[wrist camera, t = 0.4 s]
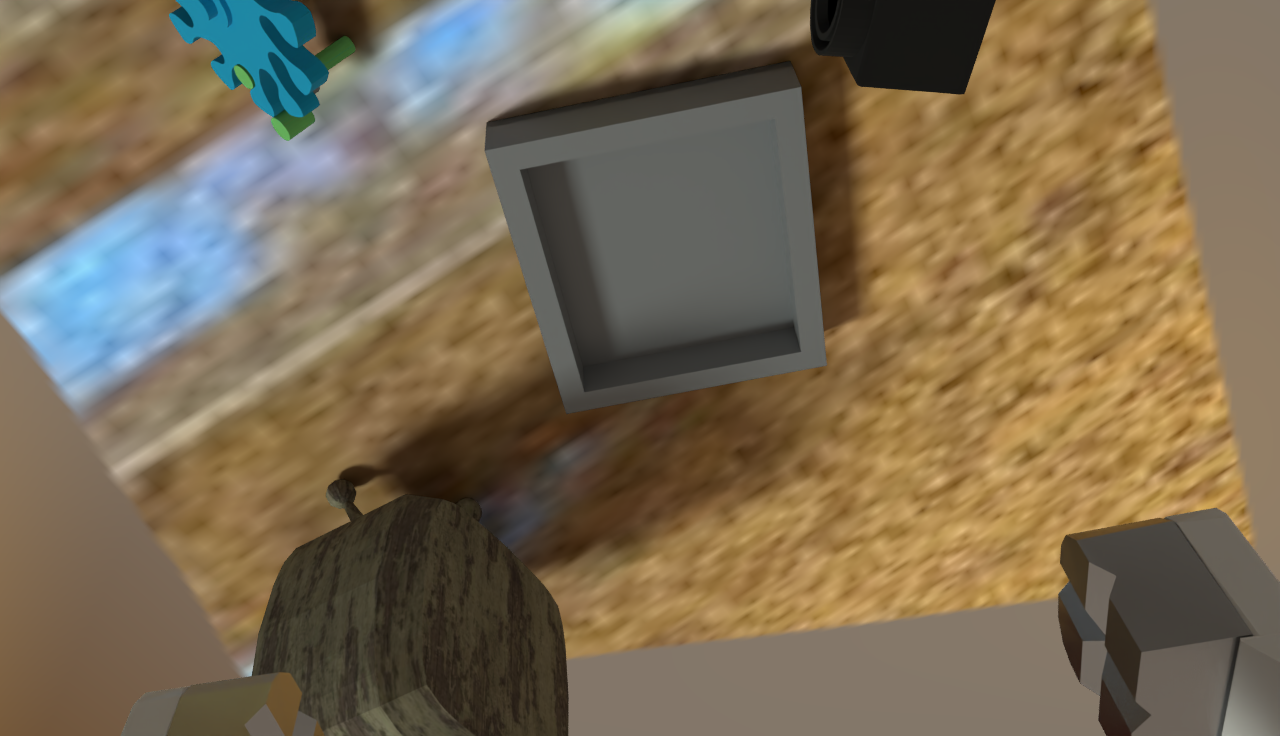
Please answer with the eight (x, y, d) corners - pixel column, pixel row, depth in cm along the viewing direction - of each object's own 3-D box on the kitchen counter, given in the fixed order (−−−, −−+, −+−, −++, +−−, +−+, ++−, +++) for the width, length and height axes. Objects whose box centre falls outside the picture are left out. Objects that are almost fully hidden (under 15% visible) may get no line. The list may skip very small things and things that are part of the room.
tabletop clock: (295, 474, 60) (185, 947, 41) (427, 406, 58) (375, 876, 39) (452, 607, 69) (422, 1049, 50) (573, 552, 66) (590, 997, 47)
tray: (486, 122, 48) (484, 150, 46) (790, 61, 47) (801, 86, 45) (565, 381, 58) (566, 414, 56) (816, 334, 57) (826, 365, 55)
